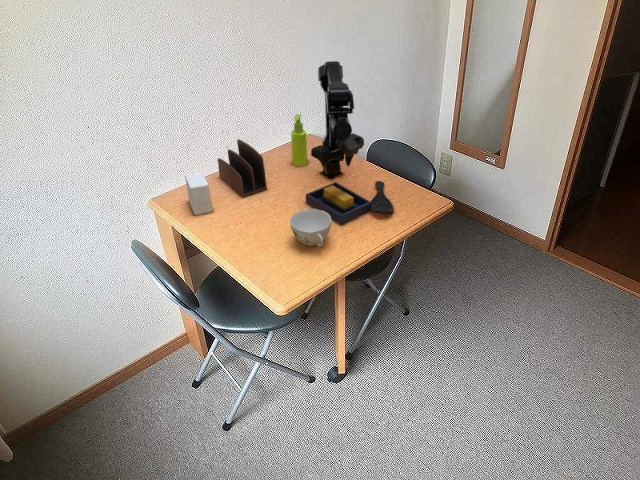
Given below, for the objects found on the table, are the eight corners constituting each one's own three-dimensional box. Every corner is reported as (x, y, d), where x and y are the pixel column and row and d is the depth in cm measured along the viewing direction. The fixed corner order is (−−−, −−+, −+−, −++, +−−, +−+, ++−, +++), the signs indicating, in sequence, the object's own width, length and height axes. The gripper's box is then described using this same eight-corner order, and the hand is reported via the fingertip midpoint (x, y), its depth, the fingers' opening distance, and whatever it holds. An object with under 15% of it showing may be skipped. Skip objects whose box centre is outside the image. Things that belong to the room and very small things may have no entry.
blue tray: (305, 202, 169) (305, 194, 167) (335, 190, 176) (335, 181, 174) (341, 225, 158) (341, 216, 156) (371, 211, 165) (371, 202, 163)
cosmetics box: (213, 211, 165) (209, 184, 159) (194, 215, 163) (189, 188, 157) (207, 197, 173) (202, 171, 167) (188, 201, 171) (183, 174, 165)
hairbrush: (391, 176, 179) (395, 210, 158) (389, 185, 181) (394, 219, 160) (368, 175, 179) (370, 208, 158) (367, 184, 181) (368, 217, 160)
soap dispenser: (290, 167, 192) (288, 118, 181) (294, 159, 198) (292, 111, 186) (305, 167, 191) (303, 119, 180) (308, 160, 197) (307, 112, 185)
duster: (321, 201, 169) (321, 188, 166) (332, 196, 172) (332, 184, 169) (344, 215, 162) (344, 202, 159) (355, 210, 164) (355, 197, 161)
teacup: (285, 234, 154) (284, 213, 149) (321, 226, 157) (321, 204, 153) (302, 261, 142) (301, 239, 138) (341, 251, 146) (341, 229, 141)
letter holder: (242, 169, 191) (238, 135, 183) (267, 189, 177) (264, 154, 169) (219, 176, 186) (214, 142, 178) (242, 197, 173) (238, 161, 165)
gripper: (332, 142, 146) (332, 188, 155) (376, 126, 155) (374, 170, 164) (309, 131, 153) (310, 175, 162) (353, 116, 162) (352, 158, 171)
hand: (337, 169), depth 165 cm, fingers open, 9 cm apart
